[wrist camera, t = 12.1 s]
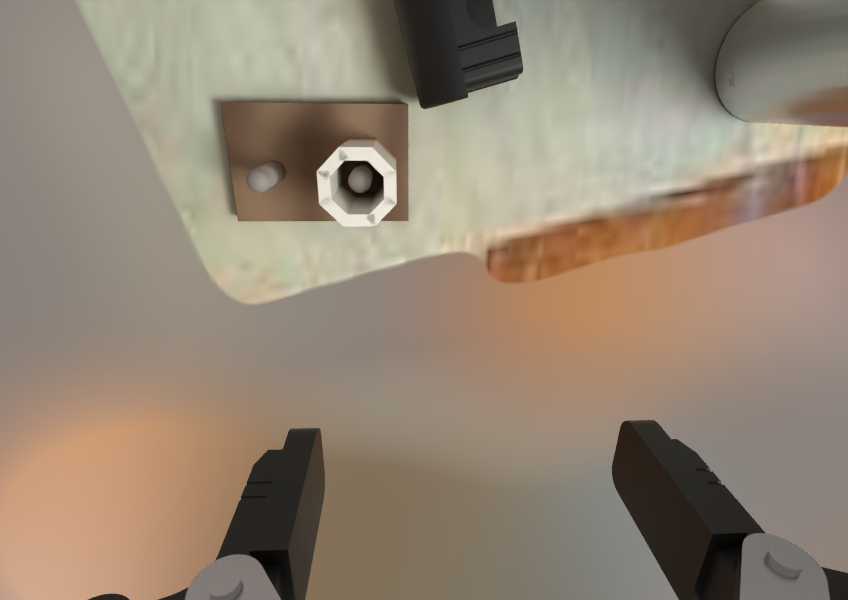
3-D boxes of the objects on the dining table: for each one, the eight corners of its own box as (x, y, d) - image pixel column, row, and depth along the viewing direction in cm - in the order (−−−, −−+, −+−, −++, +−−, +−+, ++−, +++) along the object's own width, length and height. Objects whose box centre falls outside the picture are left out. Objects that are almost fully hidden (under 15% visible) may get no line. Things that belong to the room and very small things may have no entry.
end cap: (382, -37, 33) (378, -70, 27) (478, -67, 33) (497, -107, 26) (418, 109, 37) (423, 110, 31) (505, 84, 37) (527, 80, 30)
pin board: (407, 104, 37) (410, 103, 30) (407, 216, 40) (410, 239, 33) (227, 102, 36) (188, 101, 29) (243, 217, 39) (212, 240, 33)
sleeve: (396, 138, 36) (396, 147, 29) (396, 202, 38) (397, 226, 31) (331, 138, 36) (314, 146, 29) (335, 202, 38) (320, 226, 30)
